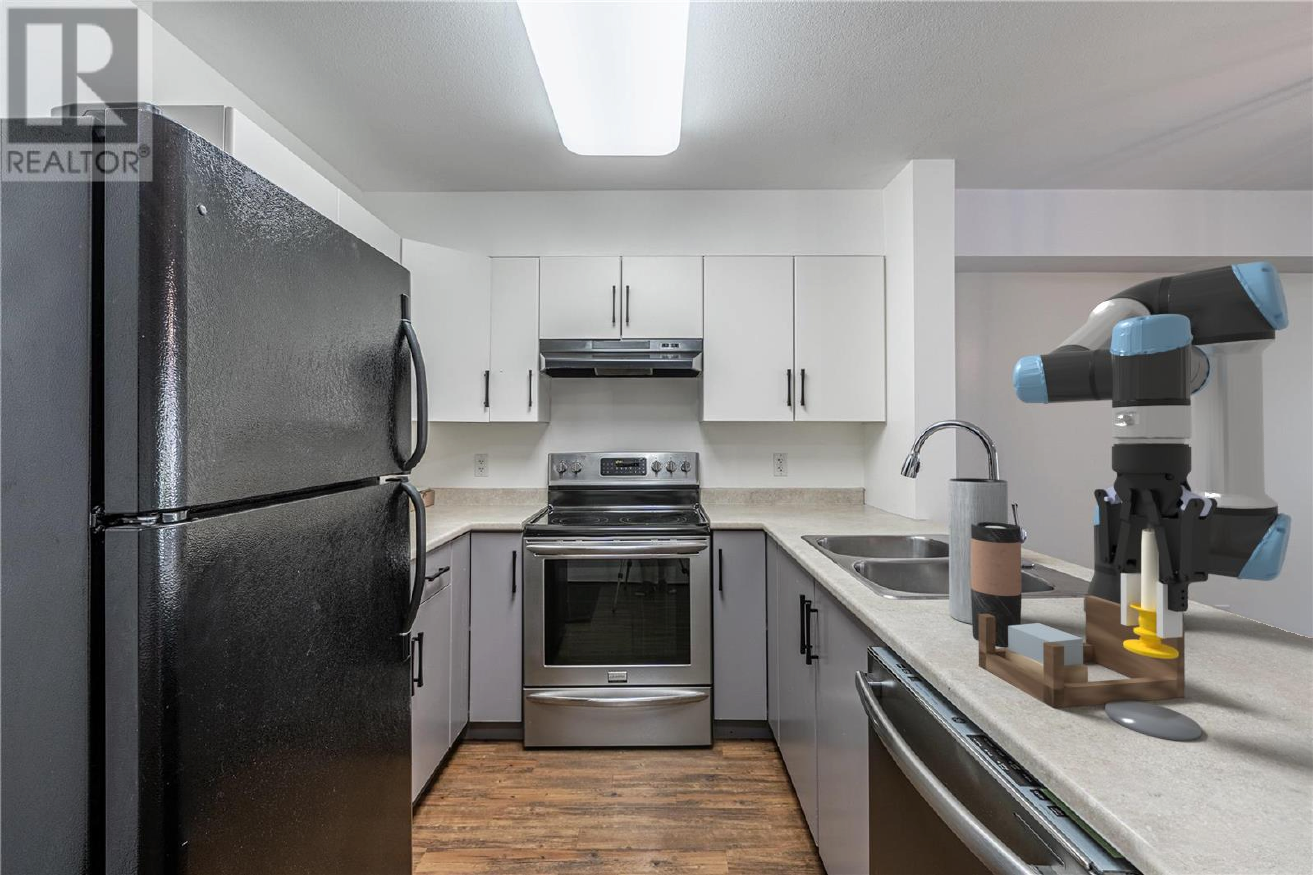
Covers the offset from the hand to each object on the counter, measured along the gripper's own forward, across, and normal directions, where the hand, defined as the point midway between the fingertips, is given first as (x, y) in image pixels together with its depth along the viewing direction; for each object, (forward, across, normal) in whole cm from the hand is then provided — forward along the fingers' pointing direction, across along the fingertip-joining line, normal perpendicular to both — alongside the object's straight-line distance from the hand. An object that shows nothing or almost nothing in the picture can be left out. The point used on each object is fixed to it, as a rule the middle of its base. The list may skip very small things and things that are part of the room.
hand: (1150, 629), depth 71 cm
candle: (+3, 0, 0) cm, 3 cm away
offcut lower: (+12, -12, -4) cm, 17 cm away
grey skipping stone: (+11, 0, 0) cm, 11 cm away
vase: (+12, -40, +7) cm, 42 cm away
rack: (+11, -12, +1) cm, 17 cm away
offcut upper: (+8, -12, -4) cm, 15 cm away
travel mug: (+12, -29, +2) cm, 31 cm away
